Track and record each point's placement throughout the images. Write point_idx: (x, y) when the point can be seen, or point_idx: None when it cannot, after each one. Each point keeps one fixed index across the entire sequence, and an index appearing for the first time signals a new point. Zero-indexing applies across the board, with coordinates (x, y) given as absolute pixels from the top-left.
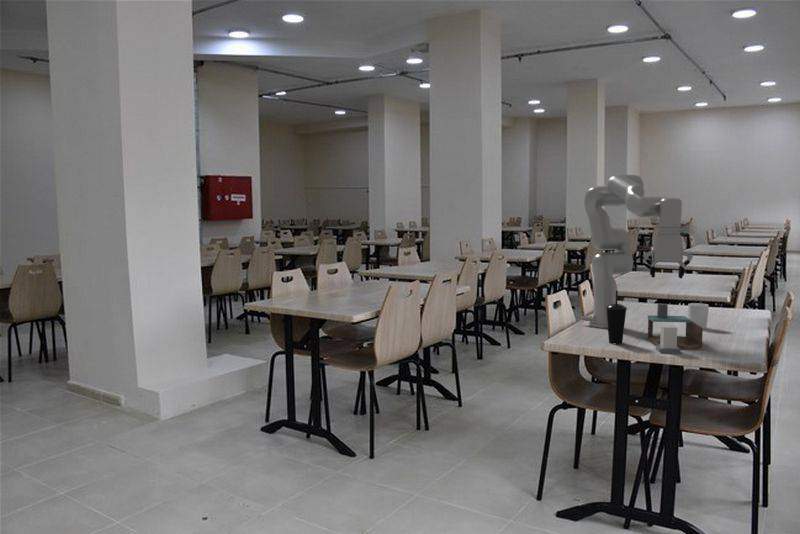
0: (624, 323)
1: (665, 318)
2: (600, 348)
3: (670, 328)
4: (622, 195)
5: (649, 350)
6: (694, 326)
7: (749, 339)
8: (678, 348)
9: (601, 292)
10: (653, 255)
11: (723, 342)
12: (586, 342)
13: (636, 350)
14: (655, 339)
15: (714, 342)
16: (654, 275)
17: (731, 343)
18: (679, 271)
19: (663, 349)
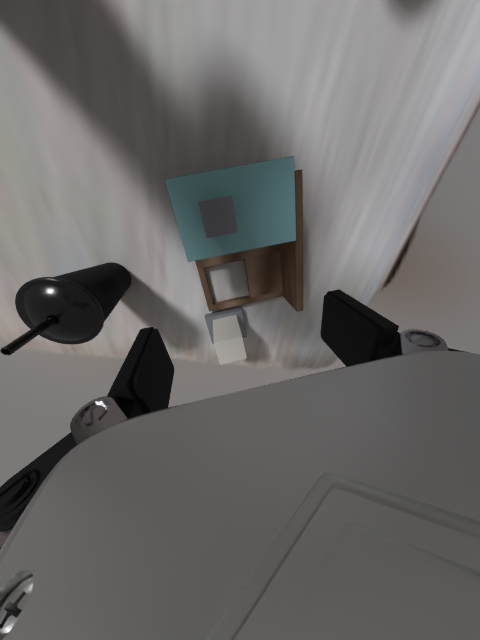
0: (117, 296)
1: (226, 236)
2: (105, 340)
3: (233, 360)
4: None
5: (194, 327)
6: (294, 268)
7: (434, 121)
8: (243, 332)
9: None
10: (4, 557)
11: (352, 193)
12: None
13: (172, 334)
14: None
15: (332, 200)
16: (170, 379)
17: (365, 201)
18: (347, 337)
19: None
